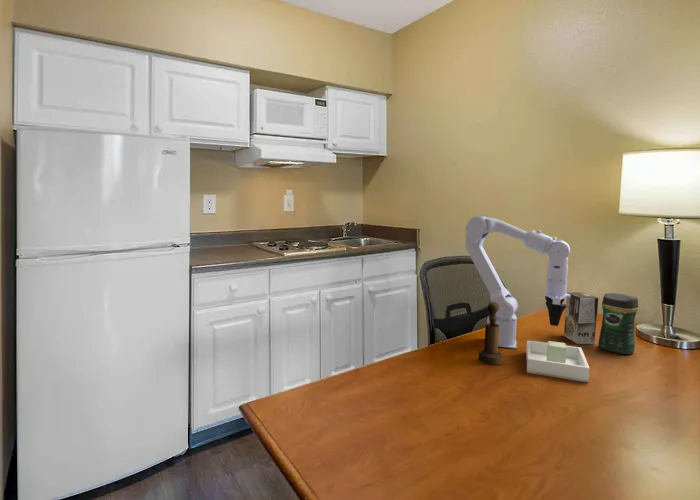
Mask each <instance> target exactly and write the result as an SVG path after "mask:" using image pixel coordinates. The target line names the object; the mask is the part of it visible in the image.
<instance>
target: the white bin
mask: <svg viewBox="0 0 700 500" xmlns="http://www.w3.org/2000/svg"><path fill="white" fill-rule="evenodd" d="M547 347H548V342H544V341H535V340H529V339H528V340H526V351H525V352H526V353H525V355H526V358H525V359H526V373H527V374H533V375H539V376H545V377H552V378H558V379H565V380H569V381H570V380H571V381H577V382H583V383H589V379H590V370H591V368H590V366H589V364H588V360H587V358H586V356H585V353H584V351H583V348H582V347H579V346H573V345H566V348H567V350H566V362H565V363H559V362H552V361H546V359H547Z"/></svg>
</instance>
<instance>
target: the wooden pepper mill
mask: <svg viewBox="0 0 700 500" xmlns="http://www.w3.org/2000/svg"><path fill="white" fill-rule="evenodd" d="M487 308H488V311H489V312H490V315H488V316H489V321H490V323H487V322H486V323H485V330H484V331H485V333H484V346H483V347H484V348H483V349H481V350H480V351H478V361H479V362H480V363H482V364H485V365H491V366H492V365H493V366H499V365H501V364H502V363H503V354H502V353H501V352H500V351H499V346H498V340H499V325H498V324H495V323H496V321H497V317H496V312H497V311H498V309H499V305H498V303H497V302H491V301H490V302H489V303H488V305H487Z"/></svg>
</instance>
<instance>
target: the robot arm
mask: <svg viewBox="0 0 700 500" xmlns="http://www.w3.org/2000/svg"><path fill="white" fill-rule="evenodd" d="M464 230H465V249H466V251H467V253H468V255H469V256H470V258H471V261H472V262H473V264H474V266H475V268H476V270H477V271H478V274H479V275H480V278H481V280H482V281H483V283H484V285H485V287H486V289H487V291H488V293H489V295H490V302H497V303H498V305H499V309H498V311H497V312H496V317H497V321H496V323H495V324H498V325H499V340H498V347H501V348H509V349H514V350H515V349H517V341H518V340H516V336H517V323H518V322H517V321H518V317H517V315H516V314H515V313H516V312H517V311H518V309H519V302H518V300H517V299H516V298H515V297H514V296H512V294H511V293H510V291H509V290H508V289H507V288H506V287H505V286H504V283H503V282H502V280H501V278H500V276H499V275H498V272H497V271H496V269H495V267H494V265H493V264H492V262H491V260H490V258H489V256H488V254H487V252H486V251H485V249H484V247H483V245H484V242H485V239H486V237H487V236H488V235H489V233H501V234H503V235H506V236H509V237H511V238H514V239H516V240H518V241H522V242H523V244H524V246H525V247H526V248H528V249H530V250H533V251H535V252H537V253H540V254H543V255H548V263H547V269H546V271H547V274H546V281H545V292H544V295H545V296H544V299H545V306H546V307H547V312H548V319H549V324H550V326H553V327H559V324H560V322H561V318H562V314H563V313H564V311H565V310H566V304H564V301H565V299H567V297H570V294H567V287H568V277H569V276H568V274H569V265H568V264H569V255H570V253H571V248H570V247H571V246H570V245H569V243H568V242H566V241H564V240H563V239H558V238H557V237H556V236H553V237H551V236H549V235H547V234H544V233H542V230H539V229H537V230H534V229H533V230H530V231H526V230H523V229H521V228H519V227H517V226H514V225H512V224H510V223H507V222H505V221H503V220H500V219H498V218H493V217H489V216H486V215H481V216H476V215H475V216H472V217H471V218H470V219H469V220H468V222H467V224H466V226H465V228H464ZM489 316H490V315H487V319H486V324H487V323H490V321H489Z"/></svg>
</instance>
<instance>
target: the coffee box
mask: <svg viewBox="0 0 700 500" xmlns="http://www.w3.org/2000/svg"><path fill="white" fill-rule="evenodd" d="M566 294H570V297H566V301H565V303H566V304H565V305H566V308H565V314H564V328H563V330H564V331H563V337H565V338H567V339H569V340H570V341H571V342H573V343H574V344H576V345H595V341H596V330H597V317H598V309H599V299H600V298H599V297H598V296H594V295H592V294H589V293H586V292H578V291H577V292H575V291H574V292H566Z"/></svg>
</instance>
